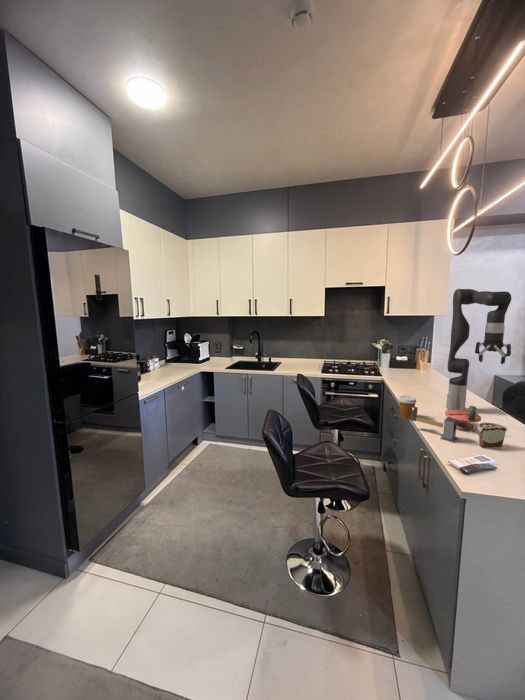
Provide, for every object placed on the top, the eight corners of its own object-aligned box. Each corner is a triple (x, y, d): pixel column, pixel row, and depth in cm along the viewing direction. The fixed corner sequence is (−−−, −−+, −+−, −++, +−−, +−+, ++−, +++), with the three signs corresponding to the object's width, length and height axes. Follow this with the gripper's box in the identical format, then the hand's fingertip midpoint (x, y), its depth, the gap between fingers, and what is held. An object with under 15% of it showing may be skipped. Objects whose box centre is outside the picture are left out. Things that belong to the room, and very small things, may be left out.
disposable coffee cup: (394, 415, 174) (394, 396, 173) (406, 413, 178) (407, 394, 176) (406, 421, 166) (407, 401, 164) (419, 418, 169) (420, 399, 167)
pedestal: (464, 422, 162) (464, 420, 162) (479, 430, 151) (479, 428, 151) (445, 423, 162) (445, 420, 162) (459, 431, 151) (459, 428, 151)
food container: (494, 441, 140) (496, 421, 138) (505, 447, 134) (507, 426, 132) (469, 442, 139) (471, 422, 138) (479, 448, 133) (481, 427, 132)
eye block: (440, 438, 143) (441, 419, 142) (444, 434, 147) (445, 416, 146) (454, 442, 139) (455, 423, 137) (458, 438, 143) (459, 419, 142)
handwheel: (438, 418, 164) (439, 397, 163) (467, 418, 164) (468, 397, 162) (456, 430, 148) (458, 407, 146) (488, 430, 148) (490, 407, 146)
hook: (410, 420, 155) (410, 407, 154) (412, 418, 157) (412, 406, 156) (441, 428, 144) (442, 414, 143) (443, 426, 146) (444, 413, 145)
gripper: (475, 331, 148) (472, 362, 151) (511, 332, 138) (507, 366, 140) (479, 330, 153) (476, 360, 156) (514, 331, 143) (510, 363, 145)
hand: (491, 362), depth 148 cm, fingers open, 8 cm apart
